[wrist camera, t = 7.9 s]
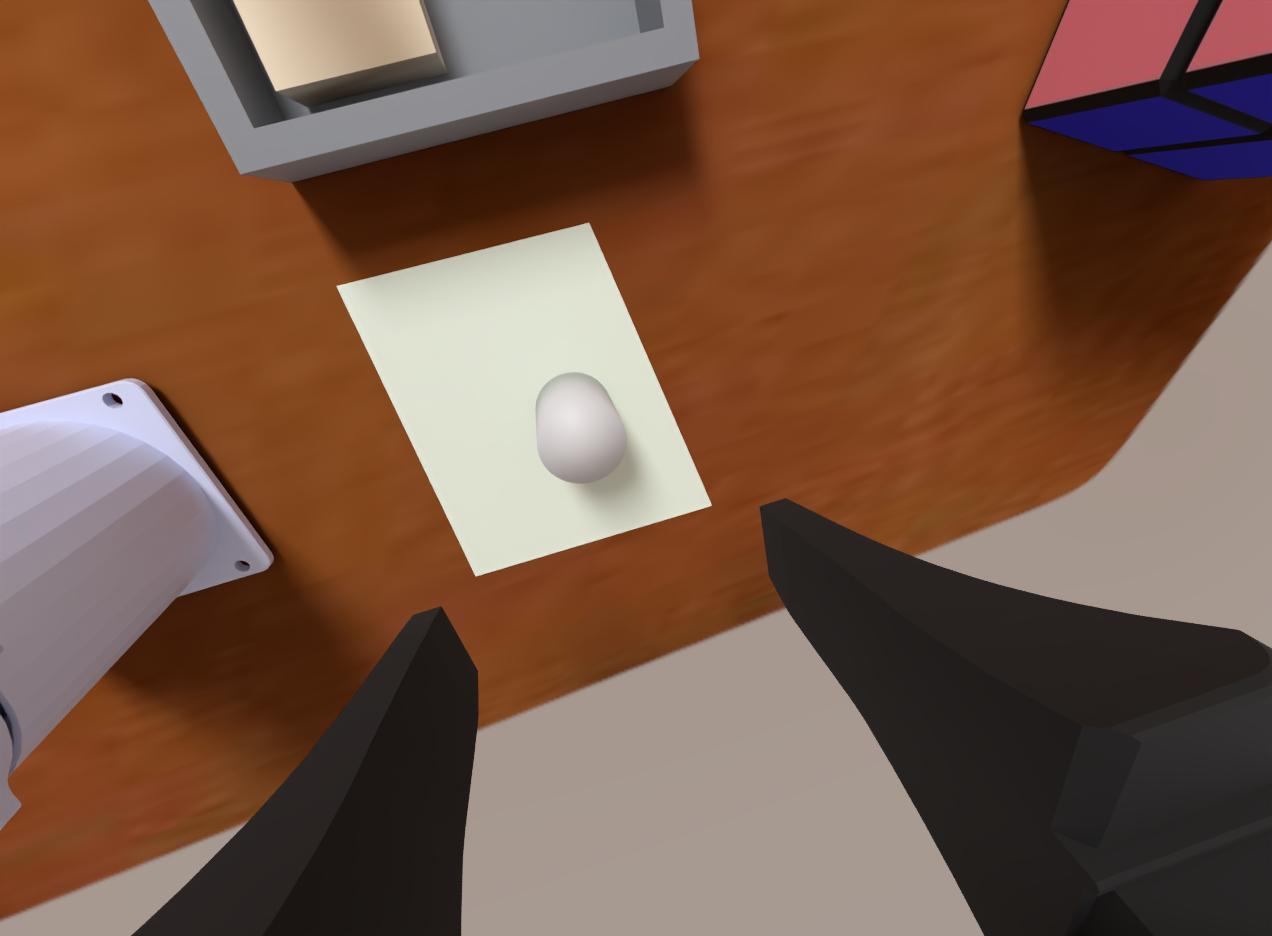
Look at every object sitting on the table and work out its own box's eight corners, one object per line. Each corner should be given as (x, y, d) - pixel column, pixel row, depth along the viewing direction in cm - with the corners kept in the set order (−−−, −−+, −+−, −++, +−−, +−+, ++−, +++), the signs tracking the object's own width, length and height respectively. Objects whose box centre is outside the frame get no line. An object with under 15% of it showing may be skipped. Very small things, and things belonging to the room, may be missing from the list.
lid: (476, 568, 23) (467, 633, 19) (342, 284, 17) (292, 300, 13) (737, 490, 24) (774, 538, 20) (695, 195, 18) (737, 188, 14)
